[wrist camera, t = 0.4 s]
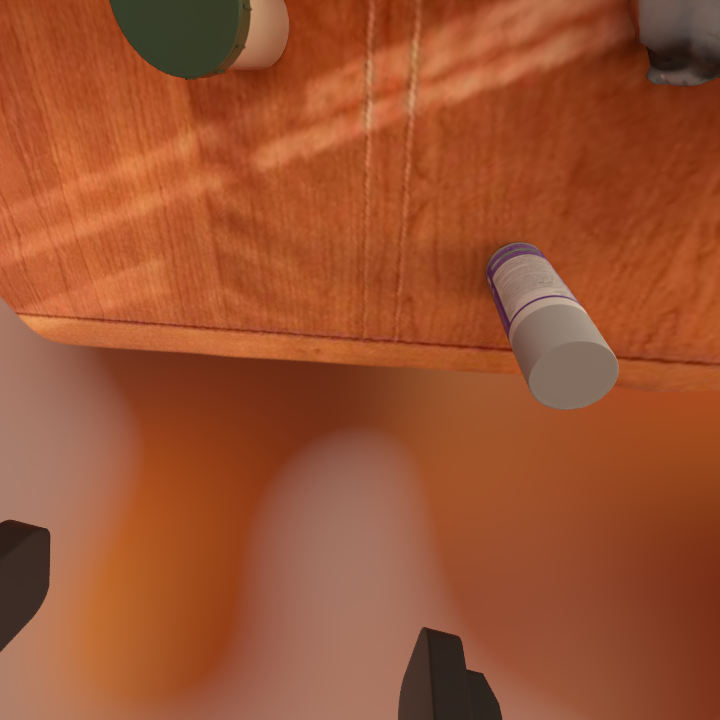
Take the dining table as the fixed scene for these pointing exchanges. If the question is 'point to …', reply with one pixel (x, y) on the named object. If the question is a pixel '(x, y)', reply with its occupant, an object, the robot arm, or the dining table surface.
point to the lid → (185, 33)
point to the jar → (264, 36)
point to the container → (549, 330)
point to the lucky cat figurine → (679, 39)
